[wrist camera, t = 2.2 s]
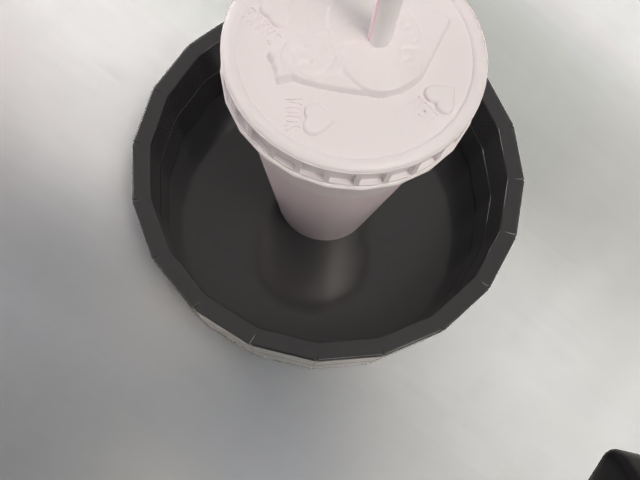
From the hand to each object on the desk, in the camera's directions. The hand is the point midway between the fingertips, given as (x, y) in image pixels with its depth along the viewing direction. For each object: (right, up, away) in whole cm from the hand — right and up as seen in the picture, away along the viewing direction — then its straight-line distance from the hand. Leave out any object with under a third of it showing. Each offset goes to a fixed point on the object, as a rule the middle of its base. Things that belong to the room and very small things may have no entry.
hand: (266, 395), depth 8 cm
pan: (+1, +4, +15) cm, 16 cm away
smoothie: (+1, +4, +15) cm, 16 cm away
